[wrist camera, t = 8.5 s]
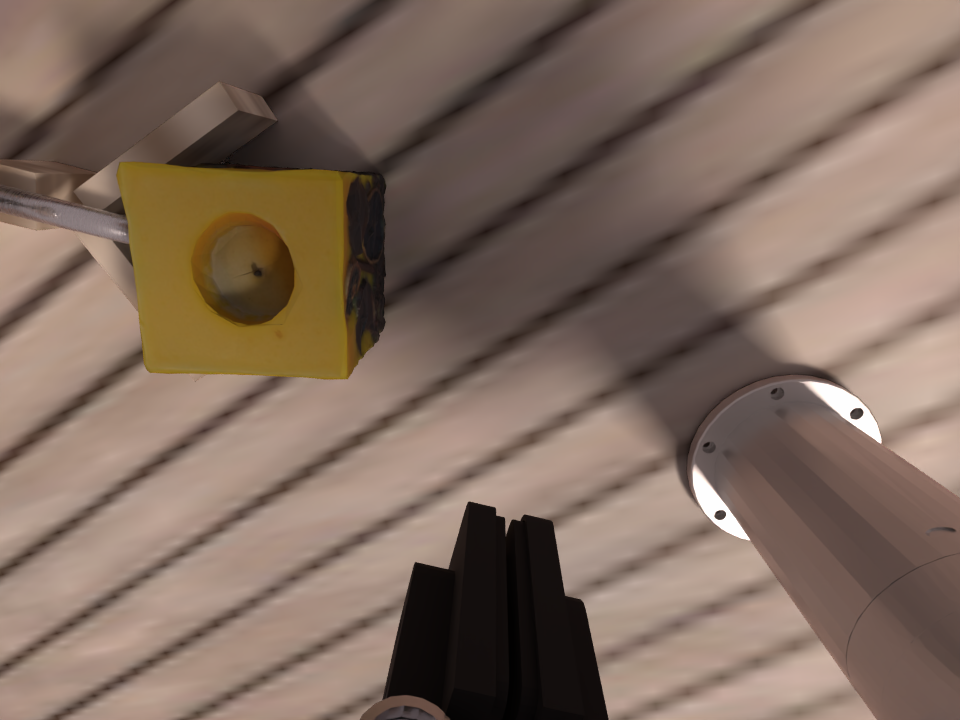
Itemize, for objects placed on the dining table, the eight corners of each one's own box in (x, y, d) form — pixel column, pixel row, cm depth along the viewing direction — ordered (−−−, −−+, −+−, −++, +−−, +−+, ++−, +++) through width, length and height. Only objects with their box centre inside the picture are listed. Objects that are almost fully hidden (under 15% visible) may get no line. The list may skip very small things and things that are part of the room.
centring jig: (279, 101, 31) (240, 86, 26) (250, 358, 36) (212, 386, 31) (51, 39, 30) (-32, 14, 25) (54, 311, 35) (-14, 332, 31)
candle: (235, 324, 35) (140, 378, 26) (218, 163, 32) (103, 156, 23) (388, 333, 35) (349, 390, 26) (387, 171, 32) (342, 168, 23)
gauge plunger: (175, 196, 28) (127, 198, 24) (170, 278, 29) (124, 292, 25) (-48, 139, 27) (-131, 133, 23) (-42, 225, 28) (-119, 232, 25)
